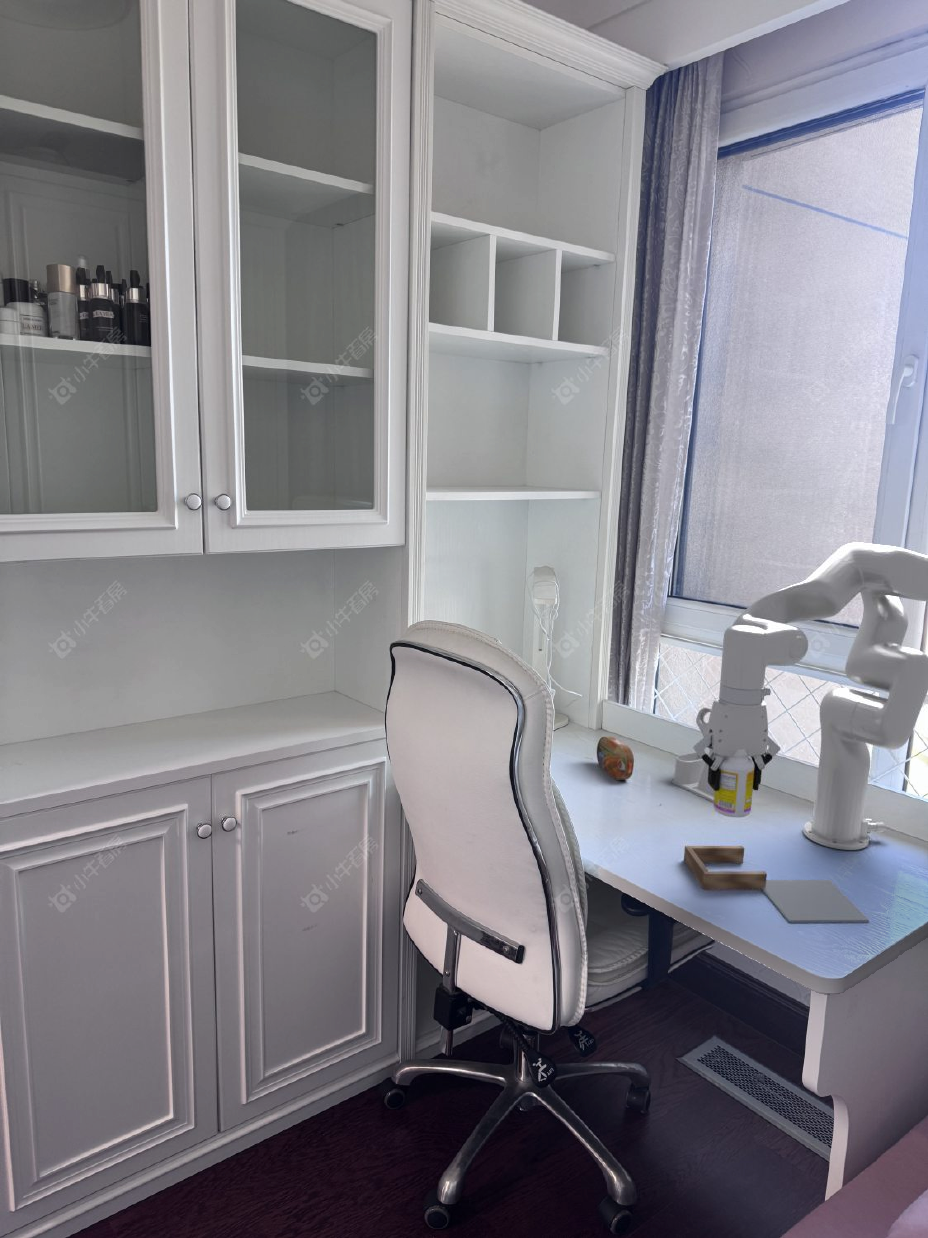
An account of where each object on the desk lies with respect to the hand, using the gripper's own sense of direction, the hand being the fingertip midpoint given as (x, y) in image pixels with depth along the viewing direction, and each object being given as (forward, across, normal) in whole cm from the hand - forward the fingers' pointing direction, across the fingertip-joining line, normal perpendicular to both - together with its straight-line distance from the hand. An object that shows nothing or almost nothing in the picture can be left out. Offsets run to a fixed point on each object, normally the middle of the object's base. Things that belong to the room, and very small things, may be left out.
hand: (733, 787), depth 158 cm
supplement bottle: (+5, 0, 0) cm, 5 cm away
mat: (+17, -11, +10) cm, 23 cm away
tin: (+18, +9, -52) cm, 55 cm away
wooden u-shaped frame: (+17, +1, 0) cm, 17 cm away
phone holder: (+18, -12, -41) cm, 47 cm away
